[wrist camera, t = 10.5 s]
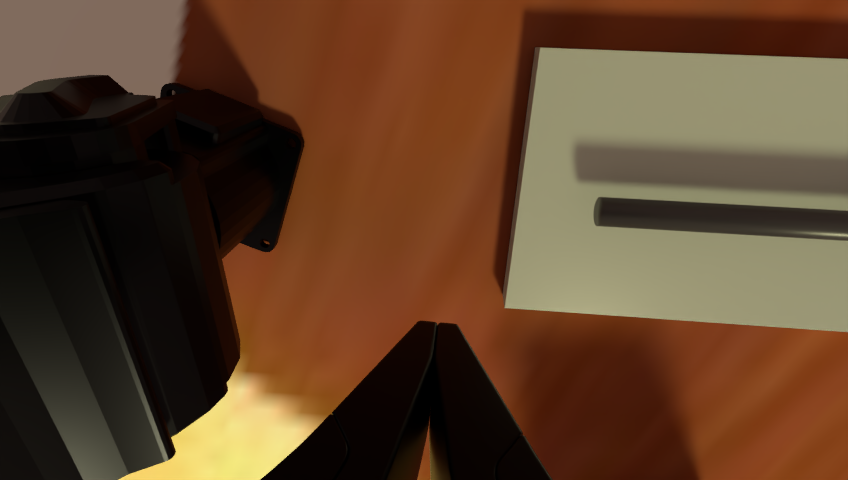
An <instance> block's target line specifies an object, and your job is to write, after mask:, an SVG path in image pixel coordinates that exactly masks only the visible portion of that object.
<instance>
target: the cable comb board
mask: <svg viewBox="0 0 848 480" xmlns="http://www.w3.org/2000/svg"><path fill="white" fill-rule="evenodd" d="M503 300H504V306H505V308H514V309H528V310H542V311H556V312H571V313H585V314H599V315H613V316H628V317H642V318H656V319H670V320H684V321H699V322H713V323H727V324H741V325H756V326H770V327H784V328H798V329H812V330H827V331H841V332H848V59H841V58H814V57H787V56H760V55H733V54H706V53H679V52H652V51H625V50H598V49H571V48H545V47H535V52H534V60H533V68H532V75H531V83H530V90H529V98H528V106H527V113H526V121H525V128H524V136H523V144H522V151H521V159H520V167H519V174H518V182H517V189H516V197H515V205H514V212H513V220H512V227H511V235H510V243H509V250H508V258H507V265H506V273H505V281H504V288H503Z"/></svg>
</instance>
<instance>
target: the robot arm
mask: <svg viewBox="0 0 848 480" xmlns="http://www.w3.org/2000/svg"><path fill="white" fill-rule="evenodd" d="M172 90H174V91H175V92H176V93H177V95H172ZM263 117H264V116H263V115H262V113H261V112H260V110H258V109H256V108H253V107H251V106H248V105H246V104H244V103H241V102H239V101H236V100H234V99H231V98H229V97H227V96H224V95H222V94H219V93H217V92H214V91H212V90H210V89H202V90H197V91H196V90H193V89H191V88H189V87H186V86H184V85H181V84H179V83H169V84H165V85H164V86H163V87H162V89H161V96H160V98H157V99H156V98H155V96H148V95H133V93H128V92H127V91H126V90H125V89H124V88H122V87H121V86H120V85H119V84H118V83H117V82H115V81H114V80H113V79H112V78H111V77H109V76H108V75H87V76H77V77H67V78H58V79H50V80H43V81H38V82H35V83H33V84H31V85H29V86H27V87H25V88H23V89H22V90H20V91H18V92H16V93H15V94H14V95H4V96H1V97H0V480H118V479H120V478H122V477H124V476H126V475H128V474H130V473H133V472H136V471H139V470H142V469H145V468H148V467H151V466H154V465H156V464H159V463H162V462H165V461H168V460H169V459H171V458H172V457H173V456H174V455H175V452H176V451H175V448H174V445H173V442H172V439H171V437H172V436H174V435H176V434H178V433H179V432H181V431H182V430H183V429H185V428H186V427H188V426H189V425H190V424H192V423H193V422H195V421H196V420H197V419H199V418H200V417H202V416H203V415H204V414H206V413H207V412H208V411H210V410H211V409H212V408H213V407H214V406H215V405H216V404H217V403H218V402H219V401H220V400H221V399H222V398H223V397H224V396H225V395H226V393H227V391H228V387H227V381H228V380H229V379H230V377H231V375H232V373H233V371H234V369H235V367H236V365H237V363H238V361H239V359H240V338H239V333H238V329H237V324H236V320H235V315H234V311H233V306H232V302H231V298H230V293H229V289H228V284H227V280H226V275H225V271H224V267H223V262H222V259H223V258H224V257H225V256H226V255H227V254H228V253H229V252H230V251H231V250H232V249H233V248H235V247H236V246H237V245H238V244H239V243H242V244H244V245H247V246H250V247H252V248H255V249H258V250H260V251H263V252H270V251H271V250H273V249H274V248H275V246H276V245H277V242H278V239H279V235H280V231H281V228H282V224H283V221H284V217H285V213H286V210H287V206H288V202H289V199H290V195H291V192H292V188H293V184H294V181H295V177H296V173H297V170H298V166H299V163H300V159H301V155H302V152H303V148H304V139H303V137H302V136H301V135H300V134H299V133H298V132H296V131H293V130H291V129H288V128H286V127H284V126H281V125H279V124H276V123H274V122H271V121H269V120H267V119H264V118H263ZM289 138H292V139H294V140H295V142H296V147H292V146H290V144H289V143H288V140H289ZM263 239H266V240H268V241H269V243H270V244H266V243H264V241H263ZM437 327H438V328H437ZM430 409H431V410H430ZM429 419H430V425H429ZM428 426H429V442H430V472H431V480H552V478H551V477H550V475H549V474H548V472H547V471H546V469H545V468H544V466H543V465H542V463H541V461H540V460H539V458H538V457H537V455H536V454H535V452H534V451H533V449H532V447H531V446H530V444H529V442H528V441H527V439H526V437H525V436H524V435H523V433H522V431H521V429H520V428H519V426H518V424H517V423H516V421H515V419H514V418H513V416H512V414H511V413H510V411H509V409H508V408H507V406H506V404H505V403H504V401H503V399H502V398H501V396H500V394H499V393H498V391H497V389H496V388H495V386H494V384H493V383H492V381H491V380H490V378H489V376H488V375H487V373H486V371H485V370H484V368H483V366H482V365H481V363H480V361H479V360H478V358H477V356H476V355H475V353H474V351H473V350H472V348H471V346H470V345H469V343H468V341H467V340H466V338H465V336H464V335H463V333H462V331H461V330H460V328H459V327H458V325H456V324H451V323H439V324H438V326H437V323H436V322H430V321H418V322H417V323H416V324H415V325H414V326H413V327H412V328H411V329H410V331H409V332H408V333H407V334H406V335H405V336H404V337H403V338H402V339H401V340H400V341H399V342H398V343H397V344H396V345H395V346H394V347H393V349H392V350H391V351H390V352H389V353H388V354H387V355H386V356H385V357H384V358H383V359H382V360H381V361H380V362H379V363H378V364H377V365H376V367H375V368H374V369H373V370H372V371H371V372H370V373H369V374H368V375H367V376H366V377H365V378H364V379H363V380H362V381H361V382H360V383H359V384H358V386H357V387H356V388H355V389H354V390H353V391H352V392H351V393H350V394H349V395H348V396H347V397H346V398H345V399H344V400H343V401H342V402H341V404H340V405H339V406H338V407H337V408H336V409H335V410H334V411H333V412H332V414H330V415H329V416H328V417H327V418H326V419H325V420H324V421H323V422H322V423H321V424H320V426H319V427H318V428H317V429H316V430H315V431H314V432H313V433H312V434H311V435H310V436H309V437H308V438H307V439H306V440H305V441H304V442H303V443H302V444H300V445H299V446H298V447H297V448H296V449H295V450H294V451H293V452H292V453H291V454H289V455H288V456H287V457H286V458H285V459H284V460H283V461H282V462H280V463H279V464H278V465H277V466H276V467H275V468H274V469H273V470H271V471H270V472H269V473H268V474H267V475H265V476H264V477H263V478H262V479H261V480H417V478H418V473H419V469H420V464H421V460H422V455H423V451H424V446H425V442H426V437H427V432H428Z"/></svg>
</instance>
